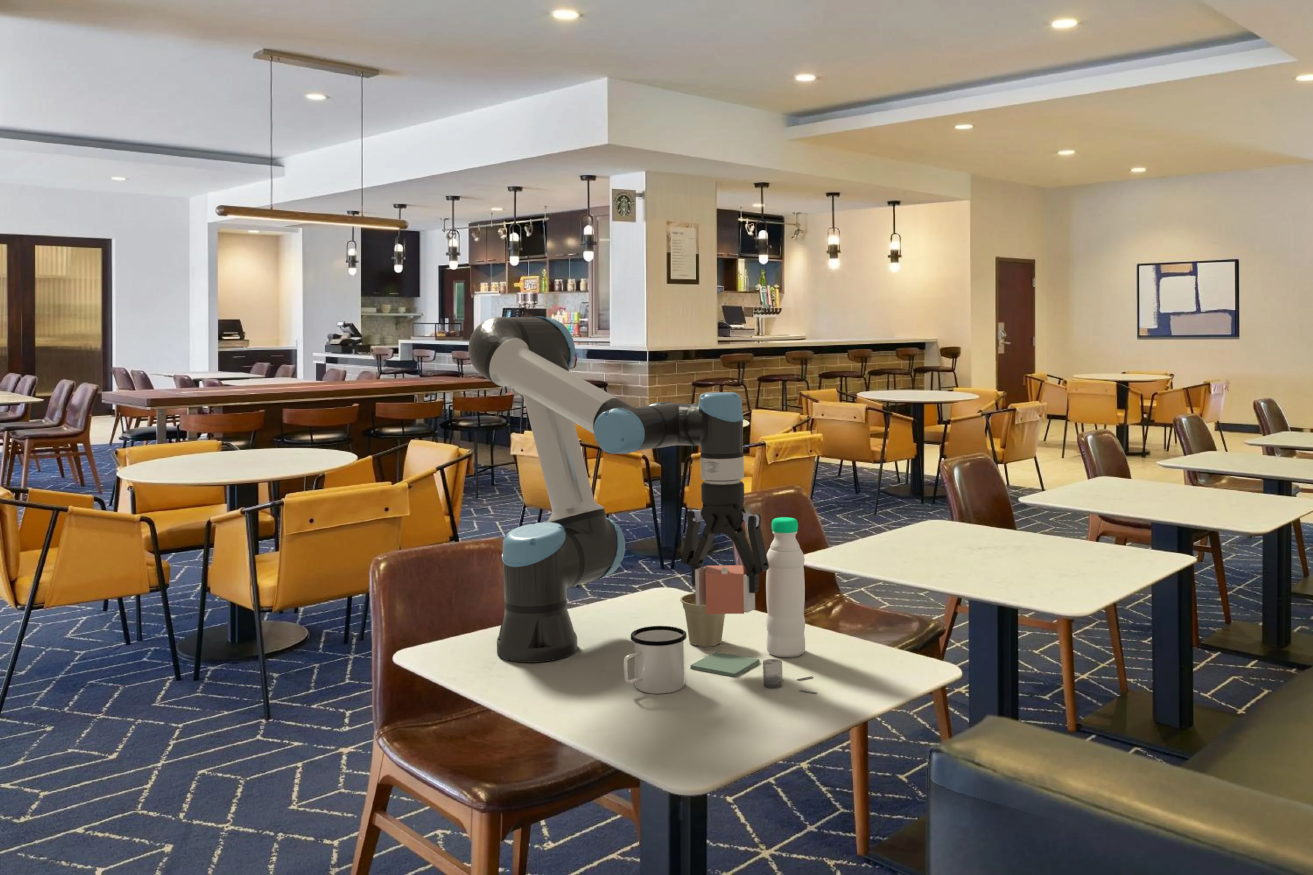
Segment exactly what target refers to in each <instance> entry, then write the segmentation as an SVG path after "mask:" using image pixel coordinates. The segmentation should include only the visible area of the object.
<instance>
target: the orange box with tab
mask: <svg viewBox="0 0 1313 875" xmlns="http://www.w3.org/2000/svg"><path fill="white" fill-rule="evenodd" d="M705 567H706V573H705V578H706V614H725V615H728V614H729V615H737V614H738V615H742V614H743V615H744V614H745V612H744V591H743V575H745V574H744V564H740V565H738V564H737V565H735V564H734V565H733V564H732V565H731V564H729V565H705Z"/></svg>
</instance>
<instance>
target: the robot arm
mask: <svg viewBox="0 0 1313 875" xmlns="http://www.w3.org/2000/svg"><path fill="white" fill-rule="evenodd" d="M468 341H469V342H468V346H467V347H468V350H467V351H468V356H469V359H470V362H471V364H472V366H473V368H474V369H475V370H476V372H477V373H478V374H480V375H481V376H482V377H484V378H486V379H487V380H488V381H490V382H492V383H494V384H495V385H496V386H499V387H508V386H510V387H512V388H513V390H514V392H517V393H518V394H520V395H521V396H523V399H524V404H525V407H526V412H527V416H528V419H529V420H528V421H529V423H530V427H531V431H532V436H533V439H534V445H535V447H536V452H537V455H538V459H539V465H540V468H541V471H542V475H543V480H544V483H545V484H544V485H545V488H546V491H547V496H548V498H549V499H548V500H549V502H550V508H551V514H550V516H549V518H547V521H546V522H545V521H544V522H541V521H540V522H536V523H529V524H525V525H521V526H518V527H516V528H513V529H511V530H510V531H508V532H507V533H506V535H505V536H504V538H503V541H502V553H501V560H502V561H501V562H502V575H503V576H502V578H503V594H504V600H503V601H504V614H503V618H502V621H501V624H500V629H499V632H498V637H497V638H496V654H497V655H498V657H499V658H501V659H504V660H507V661H510V662H516V663H517V662H519V663H542V662H550V661H557V660H560V659H565V658H566V657H570V656H571V655H573V654H575V653H576V652H577V651H578V635H577V633H576V632H575V629H574V626H573V622H572V619H571V617H570V612H569V611H568V604H567V603H568V602H567V601H568V599H567V598H568V597H567V595H568V594H567V589H569V588H572V587H576V586H579V585H582V584H586V583H589V582H596V581H598V580H599V581H600V580H601V579H603V578H605V577H607V576H610V575H611V574H614V573H615V572H616V571H617V570H618V568H619V567H620V565H621V563H622V562H623V559H624V555H625V550H626V541H625V536H624V533H623V531H622V529H621V527H620V526H619V524H616V521H615V520H613V519H611V518H609V517H607V515H606V510H605V508H604V506H603V505H601V504H599V503H598V502H597V501H595V498H594V495H593V492H592V486H591V483H590V478H589V475H588V471H587V467H586V463H585V459H584V455H583V451H582V446H581V444H580V439H579V436H578V432H577V427H576V425H578V426H580V427H581V428H583V429H584V430H586V431H588V432H589V433H591V434H593V435H594V440H595V442H596V443H597V444H598V446H599V448H600V449H601V450H602V451H603V452H605V453H607V454H612V455H617V454H619V455H626V454H631V453H635V452H640V451H646V450H647V451H648V450H652V449H660V448H666V447H671V446H693V447H694V446H695V447H699V452H700V478H701V480H703V482H702V483H701V484H700V488H701V489H700V490H701V491H700V492H701V497H700V498H701V502H702V508H701V509H698V508H695V509H691V510H688V511H687V512H686V521H687V526H686V530H685V538H684V543H683V547H682V553H681V559H680V561H681V563H682V565H687V566H689V567H690V570H691V572H690V573H691V584H692V586H693V587H695V589H694V590H695V593H696V605H697V606H700V605H703V604H705V603H706V578H705V573H706V566H703V565H705V563H704V562H705V559H706V557H707V555H708V552H709V550H710V548H711V545H712V543H713V541H714V538H715V536H717V535H719V534H722V535H725V536H728V537H729V540H731V541H732V542H733V544H734V546H735V549H736V551H737V553H738V555H739V558H740V561H741V562H742V565H743V568H744V569H745V571H746V573H745V574H744V575H743V591H744V613H746V614H747V613H750V612H752V611H755V610H756V593H758V592H759V589H760V583H759V582H760V578H759V577H760V576H759V574H761V573H763V572H767V570H768V569H769V564H768V560H767V552H766V546H765V543H764V537H763V533H762V530H761V529H762V528H761V522H762V516H761V514H760V513H756V514H751V513H747V511H746V510H745V507H744V505H745V483H744V482H743V481H742V480H743V479H744V478H745V469H744V468H745V467H744V466H745V465H744V463H745V462H744V441H743V440H744V439H743V438H744V435H743V434H744V433H743V432H744V420H745V418H744V415H743V414H744V413H743V402H742V397H741V395H740V394H739V393H736V392H733V391H732V392H729V391H727V392H726V391H725V392H720V391H718V392H717V391H716V392H714V391H713V392H705V393H702V394H699V395H700V396H699V397H698V403H681V402H679V403H678V402H671V401H665V402H655V403H654V402H653V403H651V404H649V405H644V406H633V405H631V404H630V403H627V402H625V401H624V400H622V399H620V398H618V397H616V396H614V395H613V394H611V393H609V392H608V391H605V390H603V389H601V388H600V387H598V386H596V385H595V384H592V383H590V382H589V381H587V380H585V379H583V378H582V377H579V375H575V374H573V373H572V372H570V368H571V367H572V365H573V363H574V361H575V360H574V357H575V355H576V347H575V341H574V338H573V335H572V334H571V331H570V330H569V329H568V327H567V326H565V324H563V322H562V321H561V322H560V321H559V320H557V319H555V318H551V317H545V316H536V315H535V316H530V317H529V316H526V317H525V316H523V317H522V316H520V317H519V316H517V317H516V316H515V317H513V316H512V317H511V316H509V317H508V316H507V317H506V316H498V317H497V316H496V317H492V318H489V319H486V320H485V321H482V322H481V323H480V324H479V325H478V326H477V327H476V328H475V329H474V330H473V332H472V334H471V336H470V338H469V340H468ZM702 520H703V521H704V523H705V525H704V528H703V531H702V534H701V535H702V536H701V538H700V541H699V542H698V538H699V533H700V527H701V522H702ZM744 522H745V526H746V527H747V533H748V534H747V535H748V537H749V542H748V539H747V537H746V532H745V530H744V527H743V525H742V524H743V523H744ZM749 543H750V545H749ZM697 544H698V545H697Z"/></svg>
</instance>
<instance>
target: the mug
mask: <svg viewBox="0 0 1313 875" xmlns="http://www.w3.org/2000/svg"><path fill="white" fill-rule="evenodd" d="M687 637H688V633H687V632H686V630H684V629H682V628H680V627H675V626H669V625H651V626H644V627H640V628H637V629H635V630H633V631H631V633H630V640H631V641H632V642H633V653H630V654H627V655H626V656H625V657H624V659H623V674H624V675H623V676H624V681H625V682H626V683H628V684H634V687H635V688H636V689H637V690H639V691H641V692H643V693H647V694H652V695H653V694H655V695H659V694H660V695H662V694H663V695H664V694H671V693H675V692H677V691H679V690H681V689H682V688H684V686H685V653H684V652H685V651H684V650H685V648H684V647H685V646H684V645H685V644H684V643H685V642H684V641H685V640H686V639H687ZM631 658H634V661H633V662H634V665H633V667H634V678H632V679H629V669H628V667H629V660H630V659H631Z"/></svg>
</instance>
